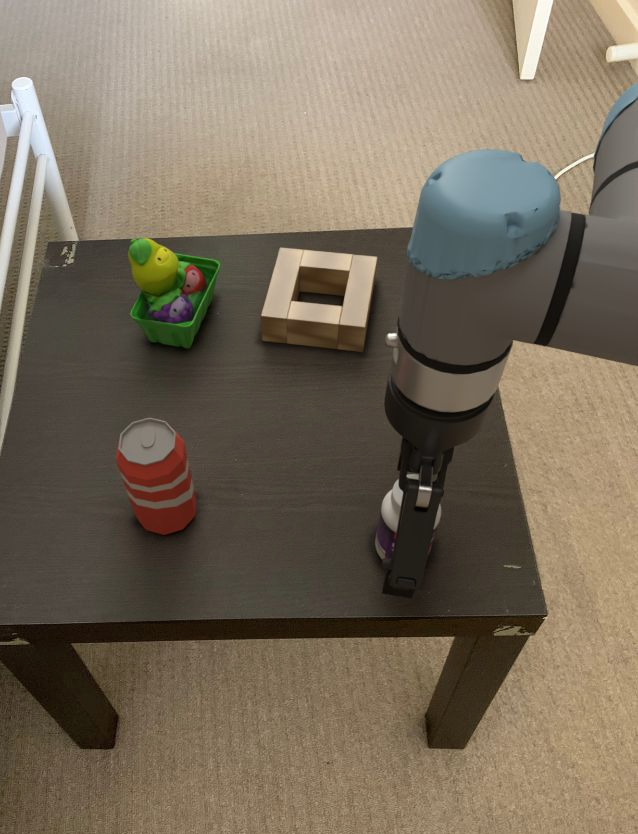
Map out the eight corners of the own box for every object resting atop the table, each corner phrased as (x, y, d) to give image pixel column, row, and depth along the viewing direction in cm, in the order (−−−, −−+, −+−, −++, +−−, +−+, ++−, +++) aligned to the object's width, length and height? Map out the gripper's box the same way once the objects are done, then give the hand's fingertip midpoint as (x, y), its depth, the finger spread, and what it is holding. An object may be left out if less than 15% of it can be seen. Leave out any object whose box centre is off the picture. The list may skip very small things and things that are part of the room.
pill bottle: (386, 576, 72) (397, 525, 64) (367, 530, 75) (375, 475, 67) (439, 562, 72) (456, 509, 64) (418, 516, 75) (432, 460, 67)
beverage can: (198, 484, 79) (183, 411, 68) (195, 537, 75) (179, 468, 65) (140, 486, 79) (117, 413, 69) (134, 538, 75) (109, 470, 65)
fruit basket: (196, 359, 88) (183, 284, 79) (126, 346, 90) (105, 271, 80) (225, 293, 94) (217, 216, 84) (159, 282, 96) (144, 205, 86)
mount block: (374, 282, 94) (377, 256, 90) (362, 352, 88) (365, 327, 84) (280, 273, 95) (279, 247, 92) (262, 340, 89) (260, 315, 86)
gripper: (405, 253, 60) (379, 419, 78) (368, 517, 47) (347, 644, 65) (502, 263, 59) (453, 429, 77) (491, 535, 46) (434, 659, 64)
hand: (404, 527), depth 71 cm, fingers open, 13 cm apart
